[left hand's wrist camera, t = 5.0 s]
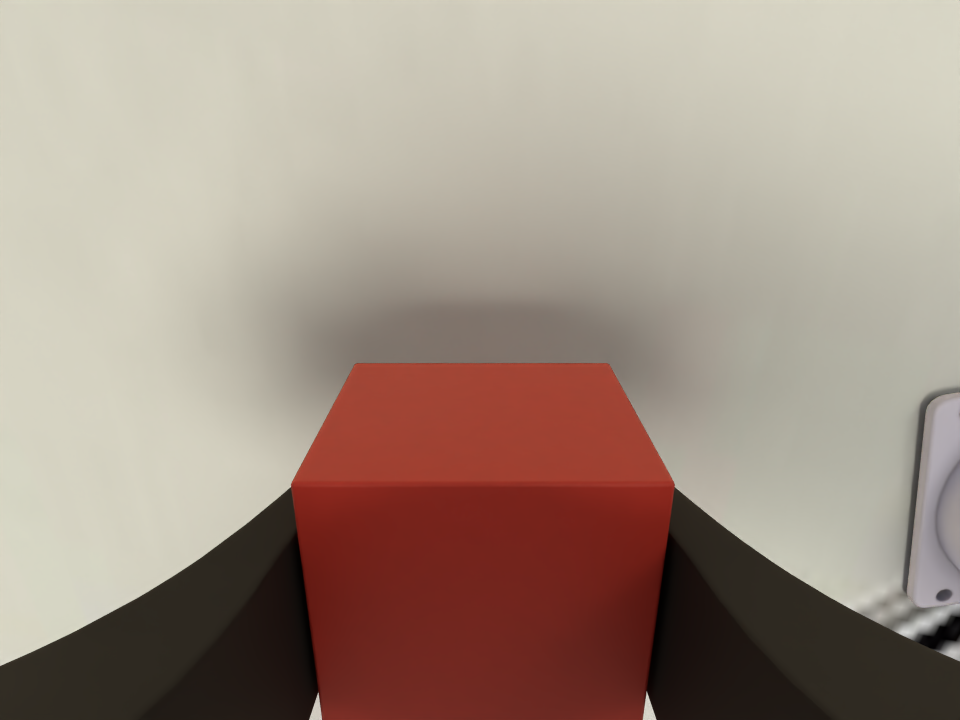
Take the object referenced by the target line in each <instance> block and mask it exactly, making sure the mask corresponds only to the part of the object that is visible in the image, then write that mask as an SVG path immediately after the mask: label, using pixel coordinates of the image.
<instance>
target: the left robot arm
mask: <svg viewBox="0 0 960 720" xmlns="http://www.w3.org/2000/svg"><path fill="white" fill-rule="evenodd" d="M907 596H908V597H909V598H910V599H911V601H912V602H913V603H914V604H915V605H916V606H918V607H921V608H929V607H936V606H944V605H952V604H959V603H960V392H958V393H951V394H944V395H941V396H938V397H937V398H935V399H934V400H932V401H931V402H930V404H929V405H928V407H927V410H926V415H925V424H924V434H923V443H922V453H921V462H920V472H919V481H918V491H917V500H916V510H915V519H914V529H913V538H912V548H911V557H910V567H909V576H908V586H907ZM647 693H648V696H649V699H650V702H651V705H652V708H653V710H654V713H655V716H656V719H657V720H960V661H957V660H955V659H953V658H950V657H948V656H946V655H943V654H941V653H939V652H936V651H934V650H932V649H930V648H928V647H926V646H923V645H921V644H919V643H917V642H915V641H913V640H911V639H908V638H906V637H904V636H902V635H900V634H898V633H896V632H894V631H892V630H890V629H888V628H886V627H884V626H882V625H880V624H878V623H876V622H875V621H873V620H871V619H869V618H867V617H865V616H863V615H861V614H859V613H857V612H855V611H853V610H851V609H849V608H848V607H846V606H844V605H842V604H840V603H839V602H837V601H835V600H833V599H831V598H830V597H828V596H826V595H825V594H823V593H821V592H820V591H818V590H816V589H815V588H813V587H811V586H810V585H808V584H806V583H805V582H803V581H801V580H800V579H798V578H796V577H795V576H793V575H791V574H790V573H788V572H787V571H785V570H784V569H782V568H781V567H779V566H777V565H776V564H774V563H773V562H771V561H770V560H769V559H767V558H766V557H764V556H763V555H761V554H760V553H759V552H757V551H756V550H754V549H753V548H752V547H750V546H749V545H747V544H746V543H744V542H743V541H742V540H740V539H739V538H738V537H736V536H735V535H734V534H732V533H731V532H730V531H728V530H727V529H726V528H724V527H723V526H722V525H720V524H719V523H718V522H717V521H715V520H714V519H713V518H712V517H710V516H709V515H708V514H707V513H705V512H704V511H703V510H702V509H700V508H699V507H698V506H697V505H695V504H694V503H693V502H692V501H691V500H689V499H688V498H687V497H686V496H685V495H683V494H682V493H681V492H680V491H679V490H677V489H676V488H675V487H674V494H673V502H672V509H671V516H670V524H669V531H668V538H667V546H666V553H665V560H664V568H663V575H662V582H661V589H660V597H659V604H658V611H657V619H656V626H655V633H654V641H653V648H652V655H651V663H650V670H649V677H648V684H647ZM317 694H318V684H317V676H316V669H315V661H314V654H313V646H312V639H311V631H310V624H309V616H308V609H307V601H306V594H305V586H304V579H303V571H302V564H301V556H300V549H299V541H298V534H297V526H296V519H295V511H294V504H293V496H292V489H291V488H289V489H288V490H287V491H286V492H285V493H284V494H282V495H281V496H280V497H279V498H278V499H277V500H275V501H274V502H273V503H272V504H270V505H269V506H268V507H267V508H266V509H264V510H263V511H262V512H261V513H260V514H258V515H257V516H256V517H255V518H253V519H252V520H251V521H250V522H249V523H247V524H246V525H245V526H243V527H242V528H241V529H239V530H238V531H237V532H235V533H234V534H233V535H231V536H230V537H229V538H227V539H226V540H225V541H223V542H222V543H221V544H219V545H218V546H216V547H215V548H214V549H212V550H211V551H210V552H208V553H207V554H206V555H204V556H203V557H202V558H200V559H199V560H197V561H196V562H194V563H193V564H191V565H190V566H188V567H187V568H185V569H184V570H182V571H181V572H179V573H178V574H176V575H175V576H173V577H171V578H170V579H168V580H167V581H165V582H163V583H162V584H160V585H158V586H157V587H155V588H154V589H152V590H150V591H149V592H147V593H145V594H144V595H142V596H140V597H139V598H137V599H135V600H133V601H131V602H129V603H128V604H126V605H124V606H122V607H120V608H118V609H116V610H115V611H113V612H111V613H109V614H107V615H105V616H103V617H101V618H100V619H98V620H96V621H94V622H92V623H90V624H88V625H86V626H85V627H83V628H81V629H79V630H77V631H75V632H73V633H71V634H69V635H67V636H65V637H63V638H61V639H59V640H57V641H55V642H52V643H50V644H48V645H46V646H44V647H42V648H40V649H38V650H35V651H33V652H31V653H29V654H27V655H24V656H22V657H20V658H18V659H15V660H13V661H11V662H9V663H6V664H4V665H2V666H0V720H309V718H310V715H311V712H312V709H313V706H314V703H315V700H316V697H317Z"/></svg>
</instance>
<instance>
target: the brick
mask: <svg viewBox="0 0 960 720" xmlns="http://www.w3.org/2000/svg"><path fill="white" fill-rule="evenodd" d="M674 487H675V484H674V481H673V480H672V478H671V476H670V474H669V472H668V470H667V469H666V467H665V465H664V463H663V461H662V460H661V458H660V456H659V454H658V452H657V450H656V449H655V447H654V445H653V443H652V441H651V440H650V438H649V436H648V434H647V432H646V430H645V429H644V427H643V425H642V423H641V421H640V420H639V418H638V416H637V414H636V412H635V410H634V409H633V407H632V405H631V403H630V401H629V400H628V398H627V396H626V394H625V392H624V390H623V389H622V387H621V385H620V383H619V381H618V379H617V378H616V376H615V374H614V372H613V370H612V369H611V367H610V365H609V364H607V363H357V364H355V365H354V367H353V369H352V370H351V372H350V374H349V376H348V378H347V380H346V382H345V384H344V385H343V387H342V389H341V391H340V393H339V395H338V397H337V399H336V400H335V402H334V404H333V406H332V408H331V410H330V412H329V414H328V415H327V417H326V419H325V421H324V423H323V425H322V427H321V429H320V430H319V432H318V434H317V436H316V438H315V440H314V442H313V444H312V445H311V447H310V449H309V451H308V453H307V455H306V457H305V459H304V460H303V462H302V464H301V466H300V468H299V470H298V472H297V474H296V475H295V477H294V479H293V481H292V484H291V489H292V496H293V504H294V511H295V519H296V526H297V534H298V541H299V549H300V556H301V564H302V571H303V579H304V586H305V594H306V601H307V609H308V616H309V624H310V631H311V639H312V646H313V654H314V661H315V669H316V676H317V684H318V691H319V699H320V706H321V714H322V720H643V714H644V706H645V699H646V692H647V684H648V677H649V670H650V663H651V655H652V648H653V641H654V633H655V626H656V619H657V611H658V604H659V597H660V589H661V582H662V575H663V568H664V560H665V553H666V546H667V538H668V531H669V524H670V516H671V509H672V502H673V494H674Z"/></svg>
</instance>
